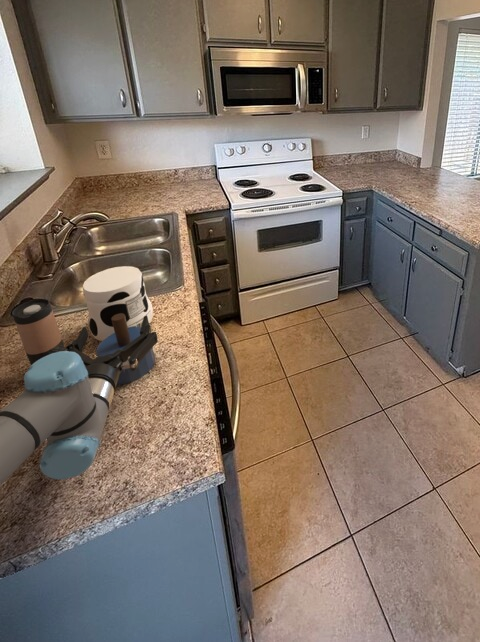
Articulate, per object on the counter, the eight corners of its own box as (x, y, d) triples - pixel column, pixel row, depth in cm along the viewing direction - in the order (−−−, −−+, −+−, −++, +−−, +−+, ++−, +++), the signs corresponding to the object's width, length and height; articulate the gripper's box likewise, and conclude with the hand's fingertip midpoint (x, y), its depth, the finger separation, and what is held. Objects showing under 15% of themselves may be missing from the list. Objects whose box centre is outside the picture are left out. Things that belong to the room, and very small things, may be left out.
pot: (97, 400, 86) (89, 374, 84) (113, 352, 102) (107, 328, 99) (150, 387, 90) (144, 362, 87) (158, 343, 105) (153, 320, 102)
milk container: (102, 317, 117) (89, 269, 111) (158, 308, 121) (149, 261, 115) (84, 353, 101) (68, 299, 95) (150, 341, 106) (138, 288, 100)
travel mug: (59, 356, 100) (39, 295, 94) (76, 365, 97) (56, 302, 90) (28, 375, 94) (4, 311, 87) (45, 385, 91) (21, 319, 84)
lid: (91, 369, 86) (81, 338, 83) (104, 336, 97) (96, 307, 94) (148, 357, 89) (141, 326, 86) (154, 326, 101) (148, 298, 98)
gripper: (23, 423, 68) (63, 349, 87) (164, 389, 75) (172, 327, 94) (11, 393, 65) (54, 323, 84) (158, 361, 72) (167, 303, 91)
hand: (116, 325), depth 89 cm, fingers open, 13 cm apart
